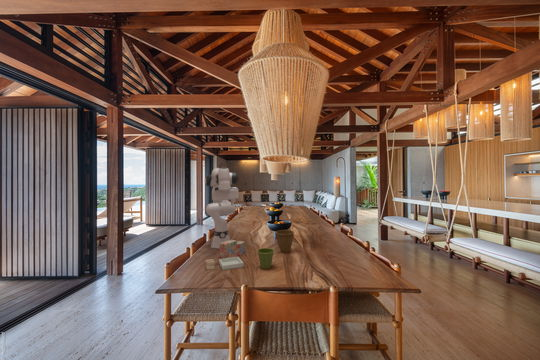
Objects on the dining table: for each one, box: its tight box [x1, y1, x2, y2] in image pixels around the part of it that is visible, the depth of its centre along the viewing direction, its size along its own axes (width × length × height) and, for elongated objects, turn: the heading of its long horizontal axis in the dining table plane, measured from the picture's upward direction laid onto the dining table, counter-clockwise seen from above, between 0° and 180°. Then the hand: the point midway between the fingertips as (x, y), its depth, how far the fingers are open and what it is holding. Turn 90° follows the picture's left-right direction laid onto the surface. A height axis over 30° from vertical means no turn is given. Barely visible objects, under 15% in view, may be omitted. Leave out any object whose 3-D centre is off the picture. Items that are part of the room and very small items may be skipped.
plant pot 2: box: [275, 229, 294, 253], centre depth 195 cm, size 15×15×16 cm
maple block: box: [205, 258, 215, 271], centre depth 161 cm, size 5×5×5 cm
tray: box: [218, 256, 245, 271], centre depth 165 cm, size 14×14×3 cm
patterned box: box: [219, 239, 246, 259], centre depth 185 cm, size 21×6×12 cm, turn 142°
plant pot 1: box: [256, 247, 275, 270], centre depth 161 cm, size 12×12×11 cm
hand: (226, 205), depth 183 cm, fingers open, 8 cm apart
